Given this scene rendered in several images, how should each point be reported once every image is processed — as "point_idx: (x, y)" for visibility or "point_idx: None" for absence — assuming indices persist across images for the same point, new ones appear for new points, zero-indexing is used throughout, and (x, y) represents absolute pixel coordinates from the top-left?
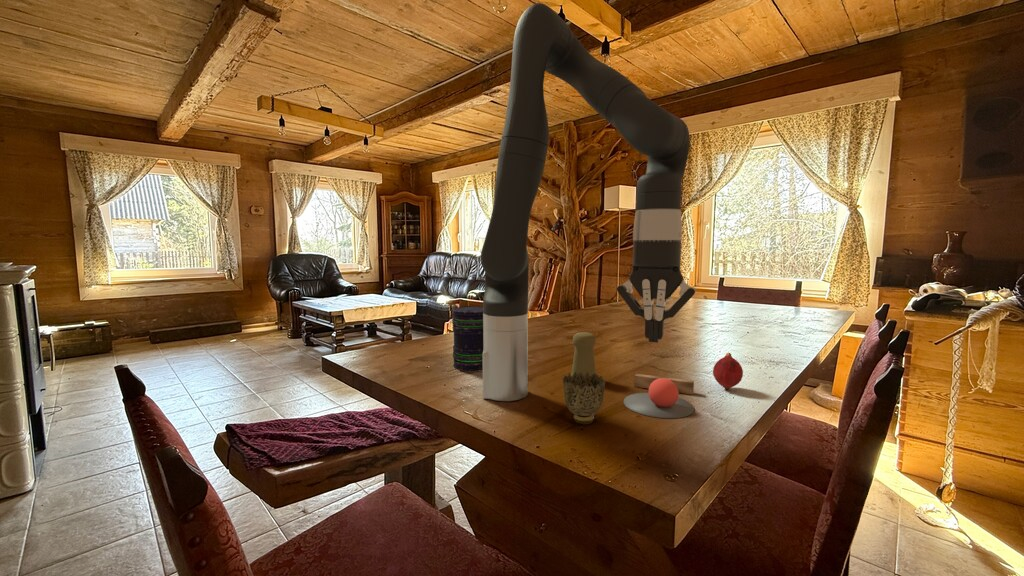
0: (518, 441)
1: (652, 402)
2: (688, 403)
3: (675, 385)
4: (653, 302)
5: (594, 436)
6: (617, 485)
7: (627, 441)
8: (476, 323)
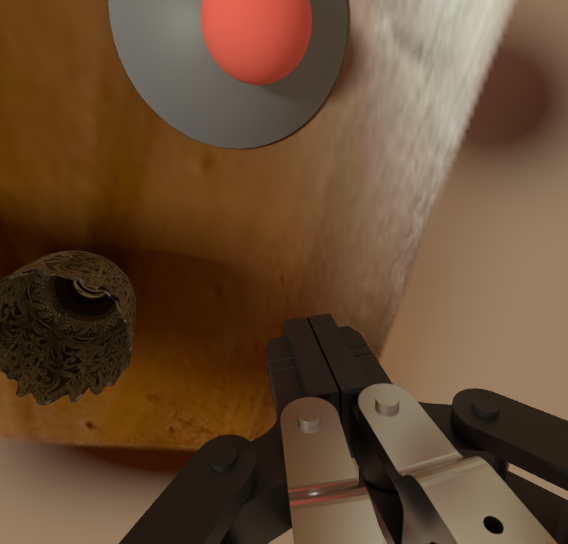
0: (40, 430)
1: None
2: None
3: (306, 12)
4: (365, 495)
5: (161, 332)
6: None
7: (232, 316)
8: None
